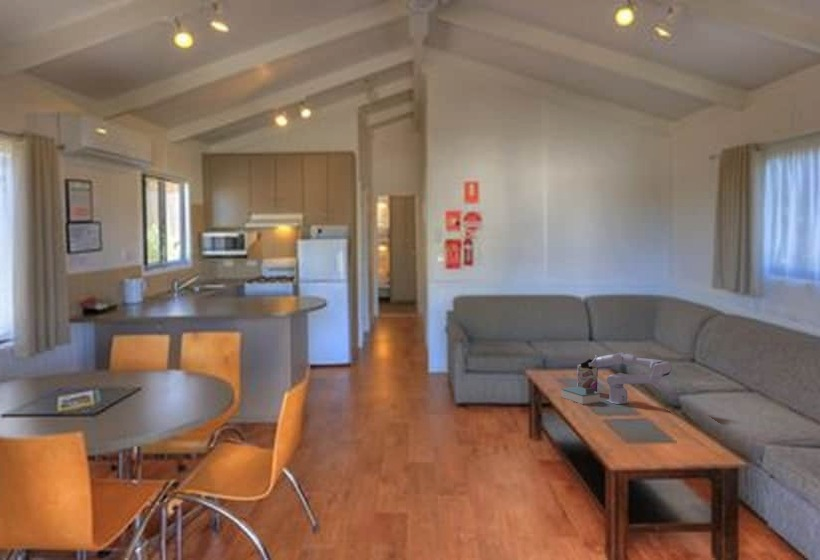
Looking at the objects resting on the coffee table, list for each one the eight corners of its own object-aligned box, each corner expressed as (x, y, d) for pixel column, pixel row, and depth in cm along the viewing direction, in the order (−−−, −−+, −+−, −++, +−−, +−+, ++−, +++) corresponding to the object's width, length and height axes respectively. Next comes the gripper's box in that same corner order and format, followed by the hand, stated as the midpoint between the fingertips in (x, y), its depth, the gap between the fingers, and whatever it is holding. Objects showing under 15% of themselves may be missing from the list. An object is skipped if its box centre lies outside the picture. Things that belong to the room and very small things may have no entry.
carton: (599, 402, 378) (599, 394, 377) (582, 404, 372) (582, 396, 372) (578, 395, 394) (578, 387, 393) (561, 397, 389) (561, 390, 388)
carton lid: (599, 393, 377) (599, 387, 377) (582, 396, 372) (582, 389, 372) (578, 387, 393) (578, 381, 393) (561, 389, 388) (561, 383, 388)
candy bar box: (578, 393, 398) (578, 365, 397) (576, 391, 403) (577, 364, 402) (597, 394, 397) (598, 366, 396) (596, 392, 402) (596, 364, 401)
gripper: (610, 351, 388) (590, 355, 398) (596, 356, 378) (576, 359, 388) (613, 363, 387) (593, 367, 397) (599, 368, 377) (579, 372, 387)
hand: (585, 364), depth 392 cm, fingers open, 7 cm apart
